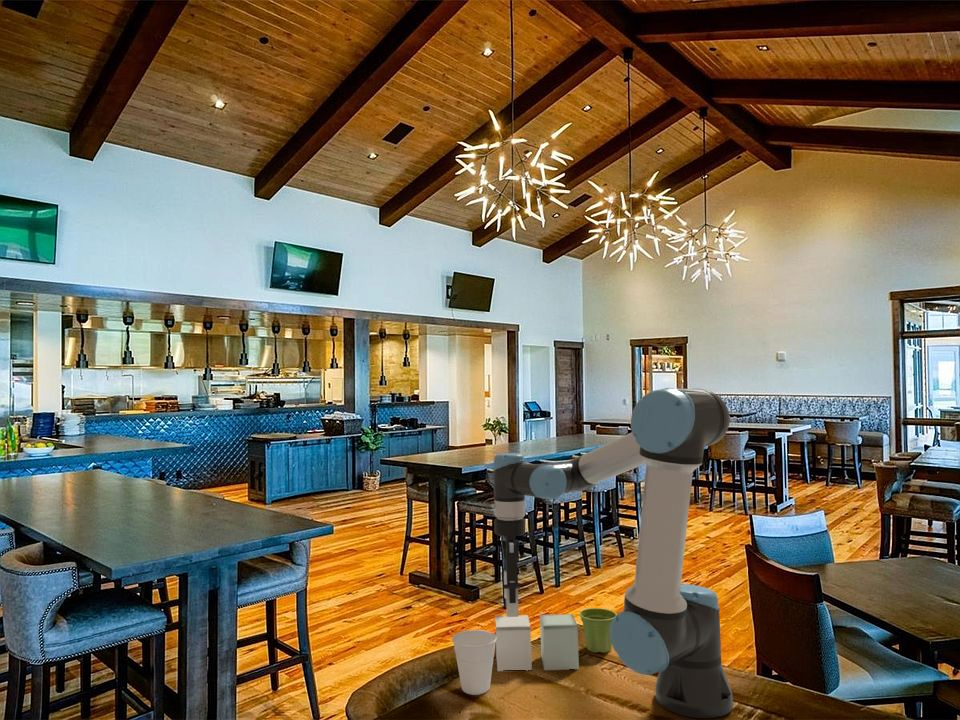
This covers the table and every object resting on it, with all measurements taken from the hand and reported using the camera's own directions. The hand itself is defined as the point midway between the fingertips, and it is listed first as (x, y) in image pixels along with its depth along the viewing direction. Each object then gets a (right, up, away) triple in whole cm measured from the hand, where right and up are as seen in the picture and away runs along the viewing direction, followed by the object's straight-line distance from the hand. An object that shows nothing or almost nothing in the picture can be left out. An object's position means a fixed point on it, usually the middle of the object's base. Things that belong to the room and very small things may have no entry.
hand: (511, 606), depth 152 cm
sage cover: (+12, -13, -1) cm, 17 cm away
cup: (-8, -13, -14) cm, 21 cm away
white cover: (+1, -13, -1) cm, 13 cm away
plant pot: (+23, -14, +7) cm, 27 cm away
